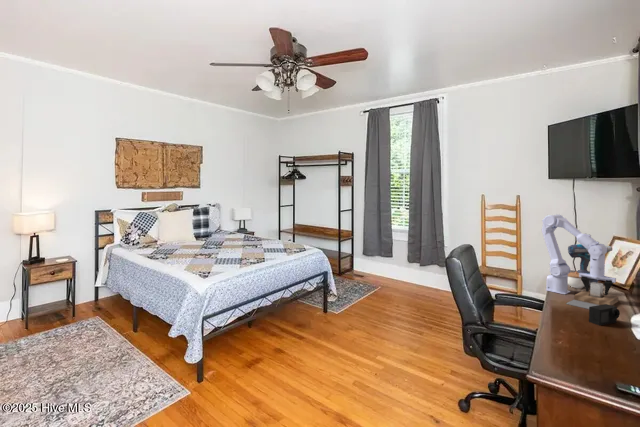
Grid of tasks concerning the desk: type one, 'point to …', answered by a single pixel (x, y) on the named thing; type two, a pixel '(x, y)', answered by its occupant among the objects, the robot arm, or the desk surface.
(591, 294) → the grey rectangular block
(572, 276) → the lidded jar
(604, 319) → the digital camera
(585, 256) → the impact wrench
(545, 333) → the desk surface
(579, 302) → the mat
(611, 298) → the socket block
